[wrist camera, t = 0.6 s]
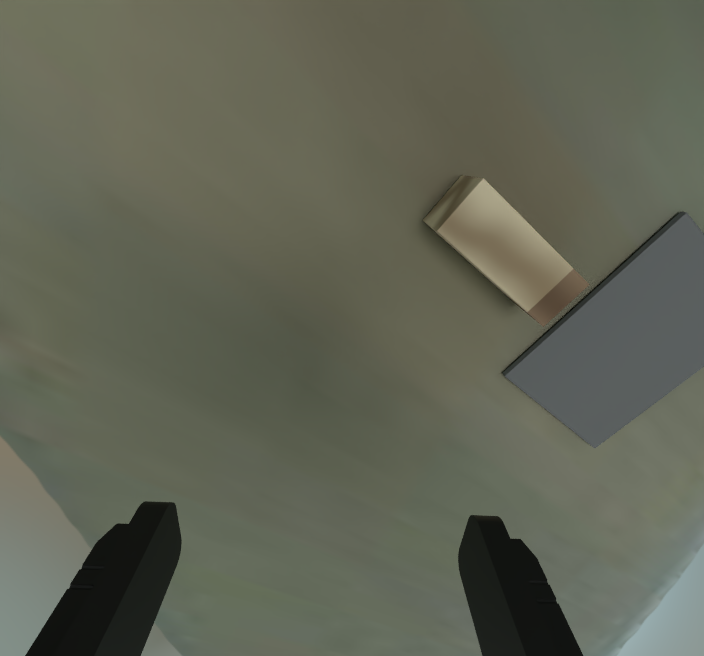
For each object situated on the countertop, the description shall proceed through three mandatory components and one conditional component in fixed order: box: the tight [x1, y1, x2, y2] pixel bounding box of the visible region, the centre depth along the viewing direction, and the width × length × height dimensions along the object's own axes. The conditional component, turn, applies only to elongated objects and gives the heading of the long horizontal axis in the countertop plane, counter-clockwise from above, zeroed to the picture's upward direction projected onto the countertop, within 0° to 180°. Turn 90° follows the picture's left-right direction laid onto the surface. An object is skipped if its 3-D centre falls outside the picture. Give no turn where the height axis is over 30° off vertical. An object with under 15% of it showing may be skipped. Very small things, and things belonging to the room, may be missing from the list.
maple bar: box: [423, 175, 589, 327], centre depth 30 cm, size 4×12×5 cm, turn 51°
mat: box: [503, 212, 704, 448], centre depth 37 cm, size 20×15×1 cm
